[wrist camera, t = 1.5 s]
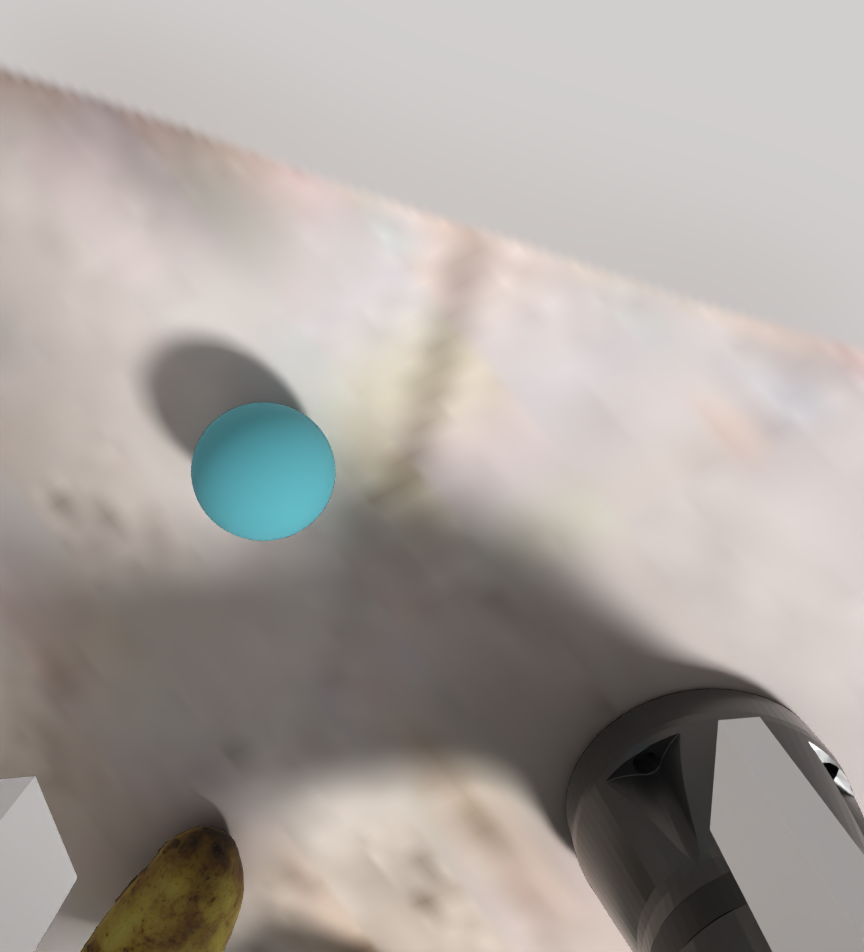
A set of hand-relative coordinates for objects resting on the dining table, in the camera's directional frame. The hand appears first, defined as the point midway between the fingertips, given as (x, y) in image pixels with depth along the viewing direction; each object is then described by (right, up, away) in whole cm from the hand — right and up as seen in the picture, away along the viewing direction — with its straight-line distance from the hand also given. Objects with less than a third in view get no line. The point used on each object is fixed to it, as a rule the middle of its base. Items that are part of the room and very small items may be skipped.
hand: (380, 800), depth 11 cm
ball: (-6, +7, +14) cm, 17 cm away
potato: (-14, -19, +25) cm, 34 cm away
